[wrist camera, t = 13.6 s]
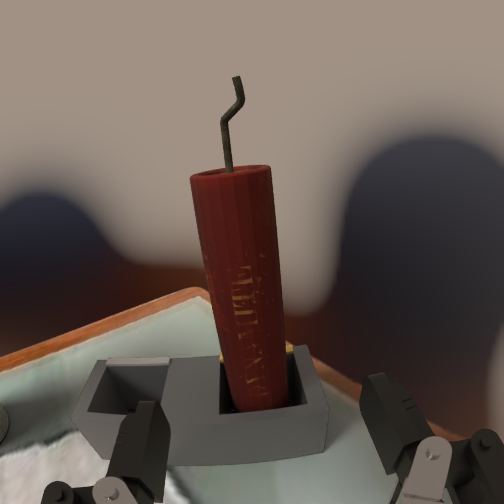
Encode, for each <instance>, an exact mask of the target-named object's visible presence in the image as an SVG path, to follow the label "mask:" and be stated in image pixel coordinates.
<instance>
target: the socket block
mask: <svg viewBox="0 0 504 504" xmlns="http://www.w3.org/2000/svg"><path fill="white" fill-rule="evenodd" d="M286 359H287V376H288V394H289V401H291V400H294V401H295V405H296V406H293V407H286V408H279V409H272V410H264V411H255V412H245V413H234V414H230V408H232V407H234V403H233V399H232V395H231V391H230V387H229V382H228V378H227V374H226V370H225V365H224V361H223V356H222V353H220V355H219V356H206V357H192V358H175V359H171V358H170V357H143V358H108V360H97V362H96V364H95V366H94V368H93V370H92V372H91V374H90V376H89V379H88V381H87V383H86V385H85V387H84V389H83V391H82V393H81V395H80V398H79V400H78V402H77V404H76V406H75V408H74V411H73V413H72V415H71V417H70V418H71V420H72V421H73V422H74V424H75V425H76V426H77V428H78V429H79V431H80V432H81V433H82V434H83V436H84V437H85V438H86V440H87V441H88V442H89V443H90V445H91V446H92V447H93V448H94V450H95V451H96V452H97V453H98V455H99V456H100V457H101V458H102V459H106V460H111V456H112V452H113V449H114V445H115V443H116V438H117V435H118V431H119V428H120V424H121V422H122V420H123V419H124V418H125V417H126V415H127V414H128V410H136V408H137V405H138V402H139V401H159V403H160V405H161V407H162V409H163V411H164V413H165V415H166V418H167V420H168V422H169V424H170V429H171V439H170V447H169V454H168V462H167V465H176V466H211V465H233V464H247V463H257V462H267V461H275V460H282V459H289V458H295V457H301V456H307V455H312V454H317V453H322V452H323V451H324V445H325V438H326V432H327V425H328V417H329V410H330V409H329V406H328V403H327V401H326V398H325V395H324V392H323V389H322V386H321V383H320V381H319V378H318V375H317V372H316V369H315V366H314V364H313V361H312V358H311V355H310V352H309V349H308V347H307V345H301V346H295V347H292V345H286Z"/></svg>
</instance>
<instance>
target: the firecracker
mask: <svg viewBox="0 0 504 504" xmlns="http://www.w3.org/2000/svg"><path fill="white" fill-rule="evenodd" d="M232 80H233V84H234V87H235V91H236V96H237V101H236V102H235V104H234V105H233V106H232V107H231V108H230V109H229V110H228V111H227V112H226V113H225V114H224V115H223V116H222V118H221V121H220V125H221V133H222V142H223V150H224V159H225V167H226V168H222V169H216V170H211V171H205V172H201V173H198V174H194V175H192V176H191V177H190V184H191V190H192V196H193V203H194V210H195V216H196V222H197V228H198V234H199V239H200V246H201V251H202V257H203V262H204V268H205V273H206V279H207V284H208V288H209V294H210V299H211V304H212V309H213V314H214V319H215V324H216V329H217V333H218V338H219V343H220V347H221V352H222V356H223V361H224V365H225V370H226V374H227V378H228V382H229V387H230V391H231V395H232V399H233V403H234V407H235V411H236V413H245V412H255V411H264V410H272V409H279V408H286V407H289V394H288V376H287V359H286V343H285V328H284V313H283V300H282V287H281V274H280V261H279V249H278V238H277V227H276V216H275V206H274V194H273V185H272V175H271V168H270V166H268V165H248V166H238V167H233V162H232V154H231V145H230V137H229V128H228V121H229V120H230V119H231V118H232V117H233V116H234V115H235V114H236V113H237V112H238V111H239V110H240V109H241V108H242V107H243V105H244V103H245V95H244V90H243V86H242V82H241V78H240V76H236V77H233V78H232Z"/></svg>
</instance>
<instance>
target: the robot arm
mask: <svg viewBox="0 0 504 504" xmlns="http://www.w3.org/2000/svg"><path fill="white" fill-rule="evenodd" d="M359 406H360V412H361V415H362V417H363V419H364V422H365V424H366V426H367V429H368V431H369V433H370V436H371V438H372V440H373V443H374V445H375V447H376V450H377V452H378V454H379V457H380V459H381V462H382V464H383V466H384V469H385V471H386V474H387V475H390V474H393V473H395V472H396V474H397V476H398V479H397V482H396V484H395V487H394V489H393V492H392V494H391V497H390V499H389V502H388V504H444V501H442V494H443V490H444V488H447V490H448V492H449V495H450V497H451V500H452V502H453V504H504V444H503V443H502V441H501V439H500V438H499V436H498V435H497V433H495V432H494V431H492V430H490V429H481V430H479V431H477V432H476V433H475V434H474V435H473V436H472V438H471V439H467V440H461V441H454V442H448V441H447V440H446V439H444V438H442V437H438V436H436V435H435V434H434V433H433V431H432V430H431V428H430V426H429V425H428V423H427V421H426V420H425V418H424V416H423V414H422V413H421V411H420V410H419V408H418V407H417V405H416V403H415V401H414V400H413V399H412V396H411V395H410V393H409V392H408V390H407V388H405V387H404V386H403V385H401V384H400V383H399V382H397V381H395V382H392V383H391V382H390V381H389V379H388V377H387V376H386V374H385V373H383V372H381V373H377V374H374V375H370V376H366V377H365V378H364V382H363V386H362V391H361V396H360V401H359ZM8 425H9V419H8V415H7V413H6V411H5V410H4V408H3V407H2V406H1V404H0V442H1V441H2V439H3V438H4V436H5V435H6V432H7V430H8ZM170 439H171V429H170V424H169V422H168V420H167V418H166V415H165V413H164V411H163V409H162V407H161V405H160V403H159V401H139V402H138V405H137V408H136V412H135V413H128V414H127V415H126V417H125V418H124V419H123V420H122V422H121V424H120V428H119V431H118V435H117V438H116V443H115V445H114V449H113V452H112V456H111V460H110V464H109V467H108V471H107V474H106V476H105V478H102V479H100V480H99V481H97V482H96V484H95V485H94V486H89V487H78V488H71V487H70V486H69V485H68V484H66V483H64V482H62V481H55V482H52V483H50V484H49V485H48V486H47V487H46V488H45V490H44V493H43V497H42V501H41V504H154V502H157V503H163V496H164V487H165V478H166V470H167V462H168V454H169V447H170Z"/></svg>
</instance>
